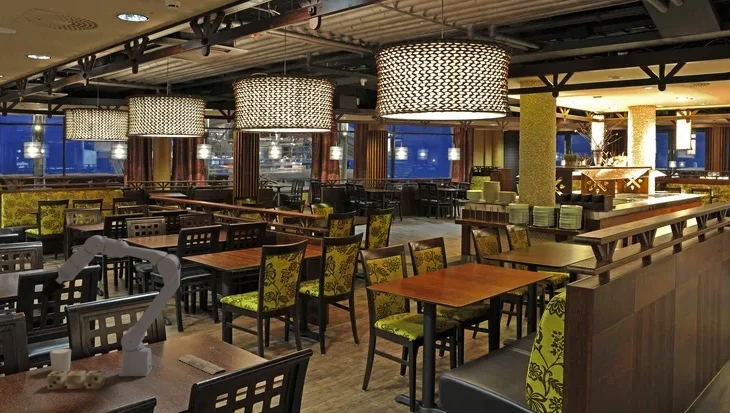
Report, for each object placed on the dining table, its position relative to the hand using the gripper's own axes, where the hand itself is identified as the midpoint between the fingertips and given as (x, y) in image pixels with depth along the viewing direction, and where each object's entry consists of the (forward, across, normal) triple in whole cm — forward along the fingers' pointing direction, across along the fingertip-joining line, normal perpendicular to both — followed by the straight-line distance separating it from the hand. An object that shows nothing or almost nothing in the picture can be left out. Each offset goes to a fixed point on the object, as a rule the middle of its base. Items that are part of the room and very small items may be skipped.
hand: (47, 292), depth 211 cm
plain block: (+13, +14, +28) cm, 34 cm away
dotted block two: (+9, +15, +32) cm, 36 cm away
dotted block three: (+17, +13, +24) cm, 32 cm away
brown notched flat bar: (-13, 0, +57) cm, 59 cm away
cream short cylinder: (+20, -4, +22) cm, 30 cm away
